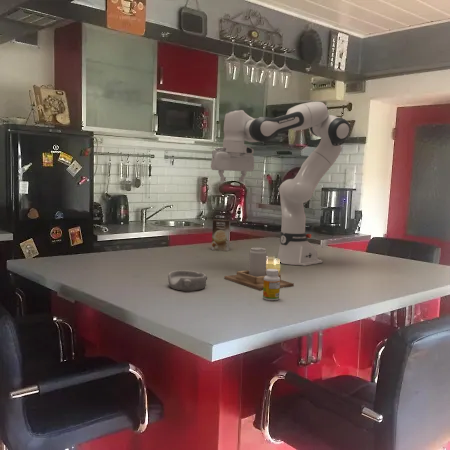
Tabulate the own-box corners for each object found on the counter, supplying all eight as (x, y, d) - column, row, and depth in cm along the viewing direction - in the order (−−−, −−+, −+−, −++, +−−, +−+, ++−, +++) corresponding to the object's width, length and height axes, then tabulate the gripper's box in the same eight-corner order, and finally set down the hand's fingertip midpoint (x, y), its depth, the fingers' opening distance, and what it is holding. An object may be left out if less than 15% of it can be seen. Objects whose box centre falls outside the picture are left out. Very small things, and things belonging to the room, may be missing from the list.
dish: (191, 294, 172) (192, 279, 171) (159, 287, 179) (159, 273, 179) (215, 286, 184) (215, 273, 184) (184, 281, 191) (184, 268, 191)
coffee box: (211, 250, 268) (212, 219, 267) (212, 248, 275) (213, 218, 273) (228, 251, 268) (229, 220, 266) (229, 249, 274) (230, 219, 272)
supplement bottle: (261, 296, 171) (262, 268, 170) (277, 297, 171) (278, 268, 170) (264, 300, 166) (265, 271, 165) (280, 301, 166) (282, 271, 165)
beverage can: (265, 282, 189) (267, 250, 188) (248, 281, 190) (249, 249, 189) (265, 278, 196) (266, 247, 195) (248, 277, 196) (249, 246, 195)
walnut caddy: (256, 275, 207) (257, 266, 206) (293, 286, 189) (294, 276, 189) (224, 278, 198) (224, 269, 197) (259, 290, 180) (260, 280, 179)
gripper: (217, 147, 206) (215, 181, 207) (256, 150, 218) (255, 182, 219) (208, 147, 211) (207, 181, 212) (248, 150, 223) (246, 182, 224)
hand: (232, 181), depth 216 cm, fingers open, 8 cm apart
